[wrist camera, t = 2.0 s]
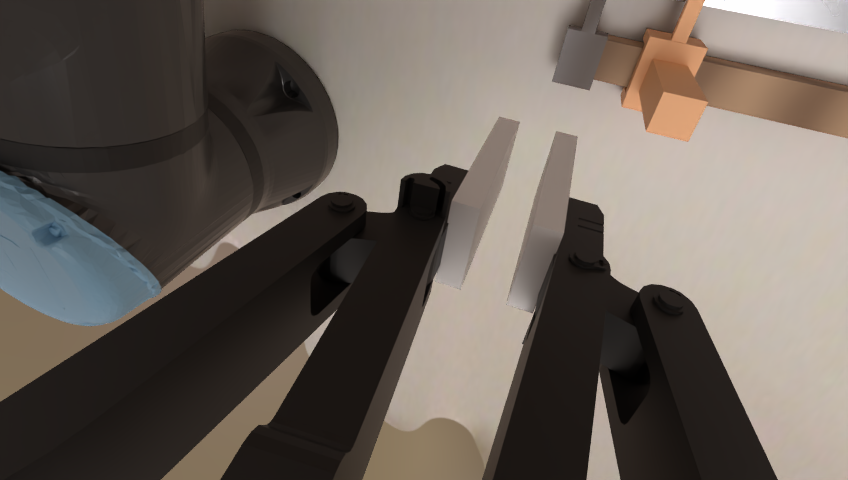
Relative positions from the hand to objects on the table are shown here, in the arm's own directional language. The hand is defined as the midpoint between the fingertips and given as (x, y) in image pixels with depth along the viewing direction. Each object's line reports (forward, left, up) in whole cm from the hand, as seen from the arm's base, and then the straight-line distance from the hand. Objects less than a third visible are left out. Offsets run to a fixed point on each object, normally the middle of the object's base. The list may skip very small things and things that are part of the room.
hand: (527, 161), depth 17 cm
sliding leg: (+6, +3, -18) cm, 19 cm away
